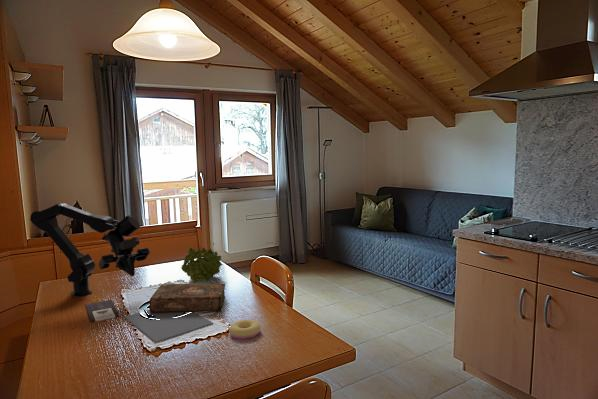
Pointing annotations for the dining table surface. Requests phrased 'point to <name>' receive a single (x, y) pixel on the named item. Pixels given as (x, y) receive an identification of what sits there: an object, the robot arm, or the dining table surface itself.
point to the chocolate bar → (101, 310)
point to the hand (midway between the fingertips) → (133, 275)
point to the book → (187, 298)
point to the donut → (244, 329)
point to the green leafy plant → (201, 264)
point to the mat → (167, 324)
